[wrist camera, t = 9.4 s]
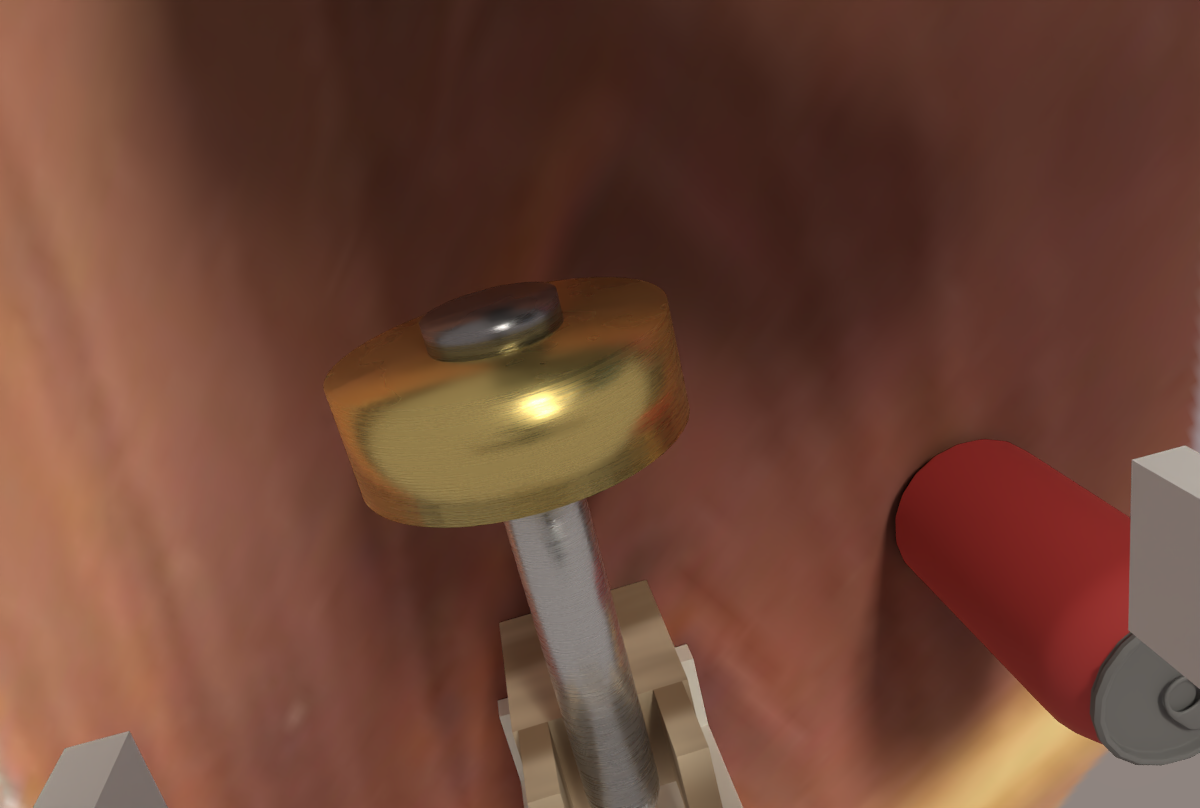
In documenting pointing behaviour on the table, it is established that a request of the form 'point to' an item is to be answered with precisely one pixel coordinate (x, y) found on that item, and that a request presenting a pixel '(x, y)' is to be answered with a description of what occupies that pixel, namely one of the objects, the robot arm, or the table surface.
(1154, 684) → the beer can
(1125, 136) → the table surface
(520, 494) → the gold disc on rod
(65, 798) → the robot arm
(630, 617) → the cradle
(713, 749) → the beige slotted stand
